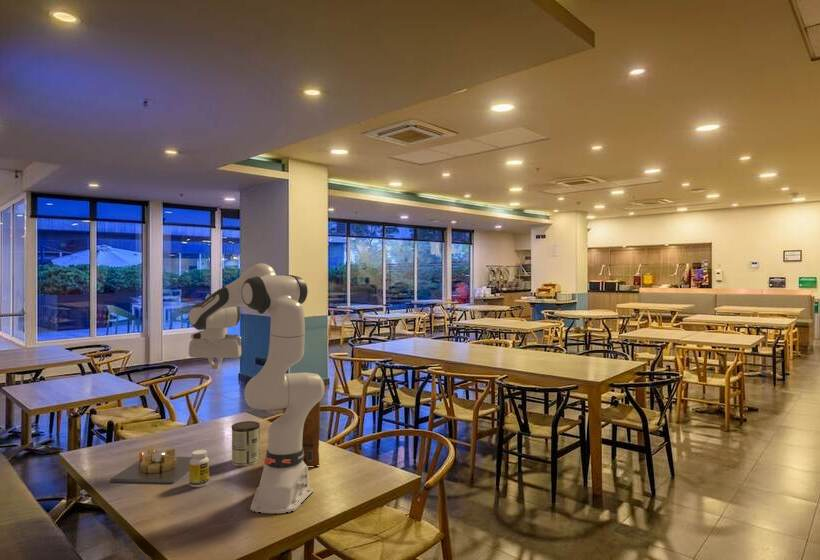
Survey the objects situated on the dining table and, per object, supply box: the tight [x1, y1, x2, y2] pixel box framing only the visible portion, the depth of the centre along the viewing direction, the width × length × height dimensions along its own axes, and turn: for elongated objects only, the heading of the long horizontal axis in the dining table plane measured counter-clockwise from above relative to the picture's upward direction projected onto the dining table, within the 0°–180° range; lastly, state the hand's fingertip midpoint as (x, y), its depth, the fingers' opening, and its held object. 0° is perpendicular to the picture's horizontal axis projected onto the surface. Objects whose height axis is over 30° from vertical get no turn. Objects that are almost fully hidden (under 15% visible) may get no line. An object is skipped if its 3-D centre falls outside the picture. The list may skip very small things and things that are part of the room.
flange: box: [110, 450, 193, 485], centre depth 185 cm, size 22×22×6 cm
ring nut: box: [140, 447, 178, 473], centre depth 185 cm, size 14×12×5 cm
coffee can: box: [231, 420, 261, 467], centre depth 195 cm, size 10×10×14 cm
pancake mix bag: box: [281, 400, 321, 466], centre depth 193 cm, size 7×19×28 cm, turn 57°
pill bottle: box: [188, 449, 210, 488], centre depth 173 cm, size 6×6×11 cm
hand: (215, 368), depth 202 cm, fingers closed
